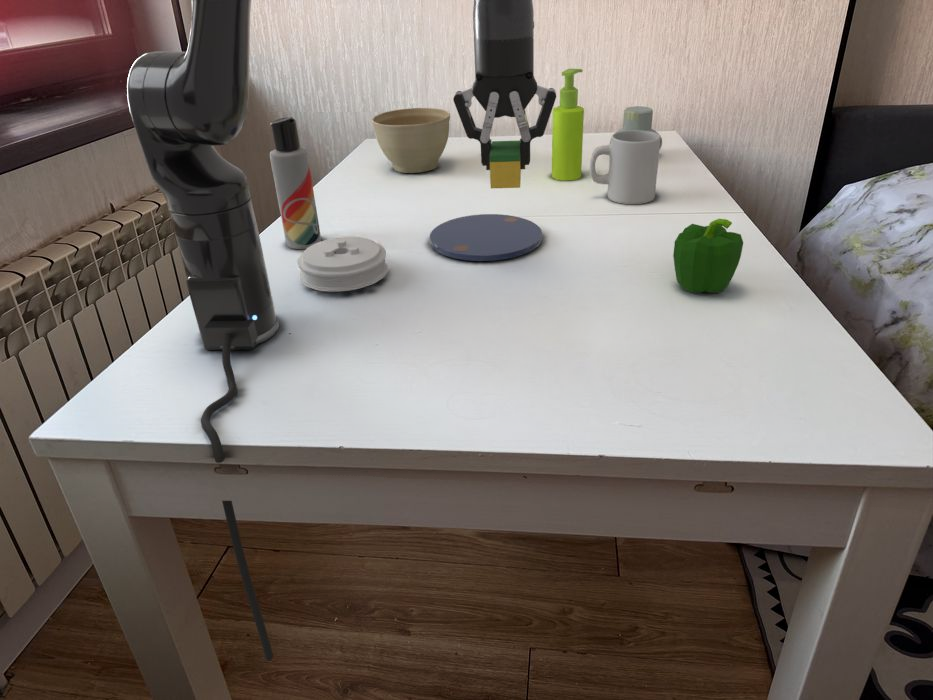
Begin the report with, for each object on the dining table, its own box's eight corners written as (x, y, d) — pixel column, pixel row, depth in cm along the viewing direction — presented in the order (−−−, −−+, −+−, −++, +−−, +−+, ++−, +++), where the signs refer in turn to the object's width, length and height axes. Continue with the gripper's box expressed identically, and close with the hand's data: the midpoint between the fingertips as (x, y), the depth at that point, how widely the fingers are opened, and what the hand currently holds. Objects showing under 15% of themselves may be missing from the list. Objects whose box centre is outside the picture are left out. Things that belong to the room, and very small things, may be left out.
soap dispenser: (587, 172, 141) (592, 67, 131) (573, 182, 136) (577, 73, 126) (561, 169, 144) (564, 66, 134) (546, 178, 139) (548, 72, 129)
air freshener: (633, 148, 155) (637, 102, 150) (665, 155, 150) (670, 106, 144) (603, 159, 149) (606, 111, 144) (635, 166, 143) (639, 116, 138)
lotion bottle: (313, 250, 112) (292, 122, 101) (280, 249, 113) (256, 122, 102) (326, 237, 116) (307, 113, 106) (294, 236, 117) (273, 113, 107)
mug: (650, 188, 131) (655, 129, 125) (659, 204, 123) (665, 141, 118) (586, 190, 131) (588, 131, 126) (590, 205, 124) (593, 143, 118)
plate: (543, 262, 104) (543, 254, 103) (424, 263, 105) (423, 256, 105) (540, 219, 119) (540, 212, 119) (436, 221, 121) (435, 214, 120)
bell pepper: (656, 281, 96) (664, 212, 91) (704, 269, 99) (714, 201, 94) (696, 306, 90) (707, 233, 85) (747, 292, 92) (760, 221, 87)
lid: (284, 291, 99) (277, 258, 96) (330, 257, 109) (325, 226, 106) (362, 302, 95) (357, 269, 92) (403, 266, 105) (400, 235, 102)
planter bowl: (410, 154, 159) (406, 104, 154) (467, 163, 151) (465, 111, 145) (362, 172, 148) (355, 119, 143) (420, 183, 140) (416, 128, 134)
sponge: (520, 187, 94) (519, 154, 91) (490, 188, 94) (489, 155, 92) (520, 172, 100) (520, 140, 97) (493, 172, 100) (492, 141, 98)
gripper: (443, 39, 85) (452, 177, 93) (561, 34, 83) (558, 175, 92) (450, 31, 91) (457, 161, 100) (559, 26, 90) (557, 159, 99)
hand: (506, 167), depth 96 cm, fingers closed on sponge, 4 cm apart
